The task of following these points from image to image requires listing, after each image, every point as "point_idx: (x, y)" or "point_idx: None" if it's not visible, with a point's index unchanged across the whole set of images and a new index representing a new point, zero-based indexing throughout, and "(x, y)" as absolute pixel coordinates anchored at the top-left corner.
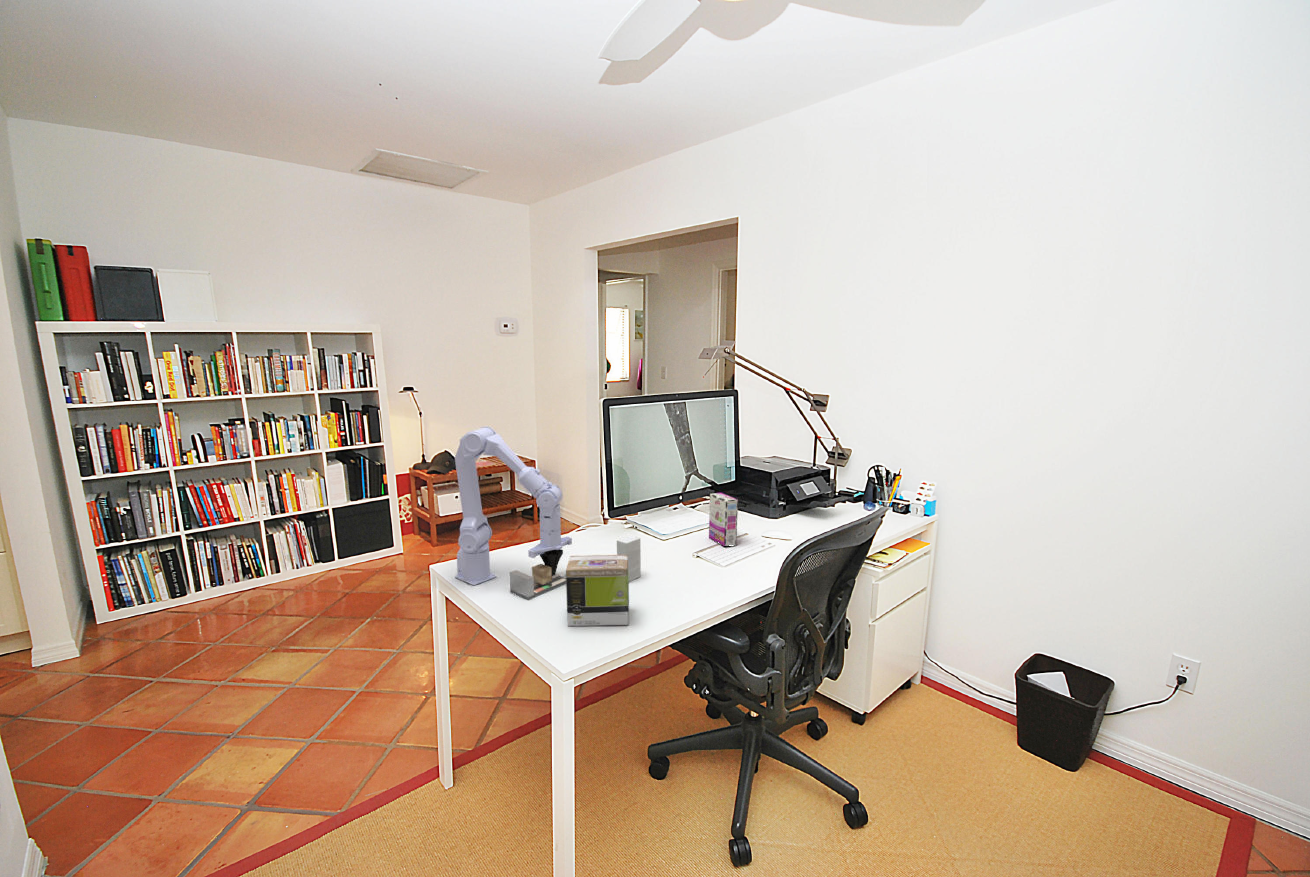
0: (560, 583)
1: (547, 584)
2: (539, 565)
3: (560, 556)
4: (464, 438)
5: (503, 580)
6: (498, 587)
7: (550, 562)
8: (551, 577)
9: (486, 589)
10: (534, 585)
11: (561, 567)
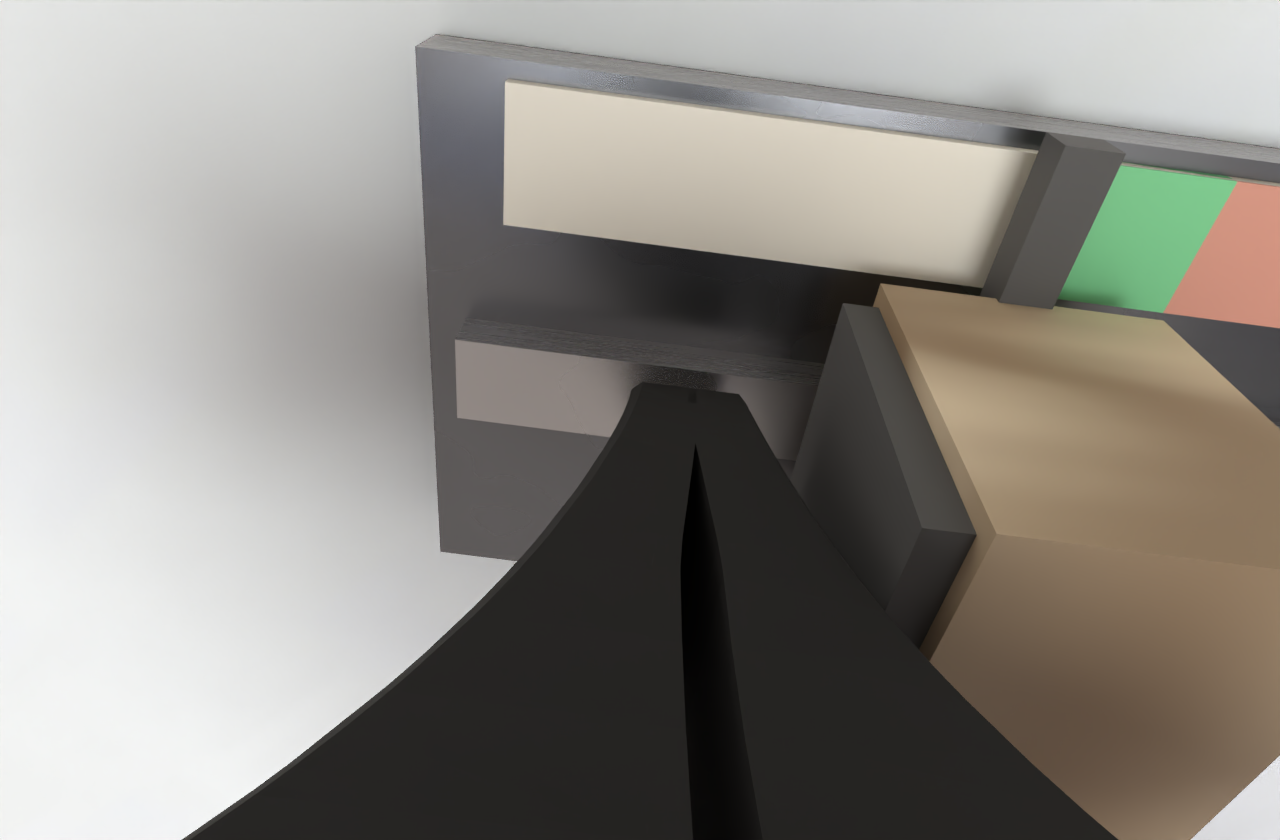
0: (739, 87)
1: (1057, 257)
2: None
3: (365, 776)
4: None
5: None
6: None
7: (985, 743)
8: (904, 326)
9: (1248, 831)
10: None
11: (140, 569)
